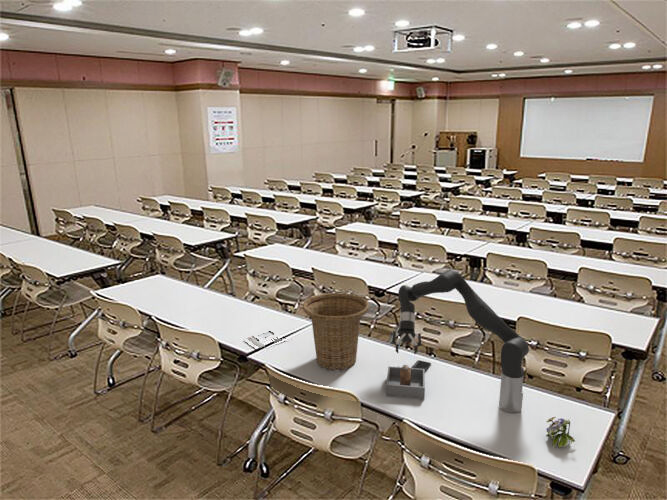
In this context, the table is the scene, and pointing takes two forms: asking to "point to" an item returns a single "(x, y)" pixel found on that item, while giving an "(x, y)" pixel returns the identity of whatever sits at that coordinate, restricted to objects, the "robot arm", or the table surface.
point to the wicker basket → (336, 327)
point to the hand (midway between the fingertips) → (406, 353)
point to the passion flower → (556, 428)
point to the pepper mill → (405, 375)
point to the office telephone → (261, 343)
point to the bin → (404, 391)
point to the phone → (422, 365)
